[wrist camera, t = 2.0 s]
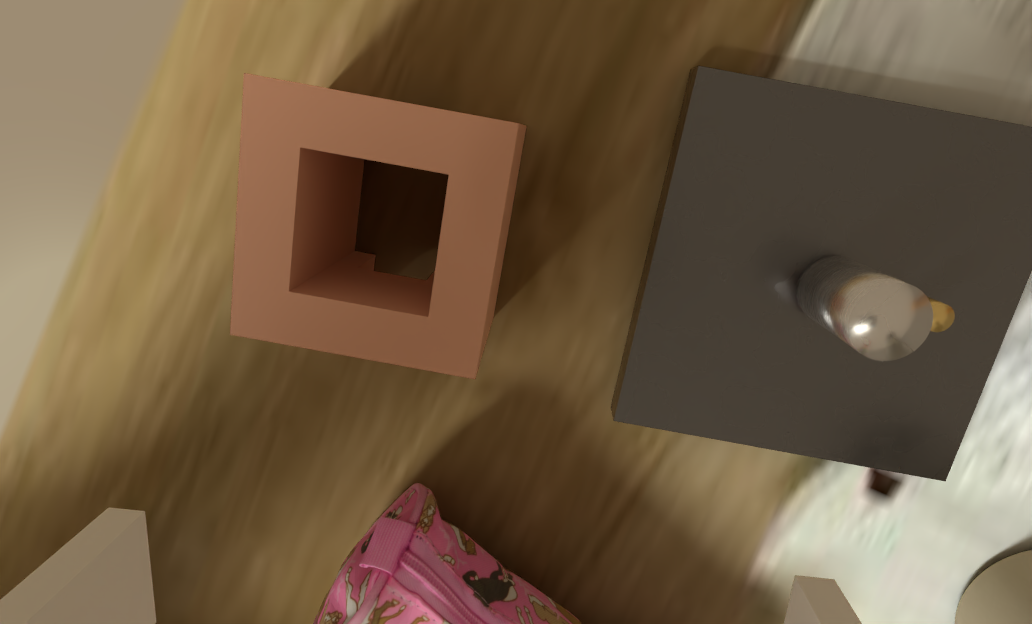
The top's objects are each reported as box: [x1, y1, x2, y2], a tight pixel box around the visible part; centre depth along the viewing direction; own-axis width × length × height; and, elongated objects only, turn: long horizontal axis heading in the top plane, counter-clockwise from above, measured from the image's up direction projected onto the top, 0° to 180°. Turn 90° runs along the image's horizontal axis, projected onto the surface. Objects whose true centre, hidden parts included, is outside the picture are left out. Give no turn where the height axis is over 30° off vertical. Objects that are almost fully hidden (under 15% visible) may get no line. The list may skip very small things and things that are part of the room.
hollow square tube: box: [230, 73, 527, 379], centre depth 26 cm, size 9×9×8 cm
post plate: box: [611, 66, 1032, 481], centre depth 26 cm, size 16×16×6 cm
